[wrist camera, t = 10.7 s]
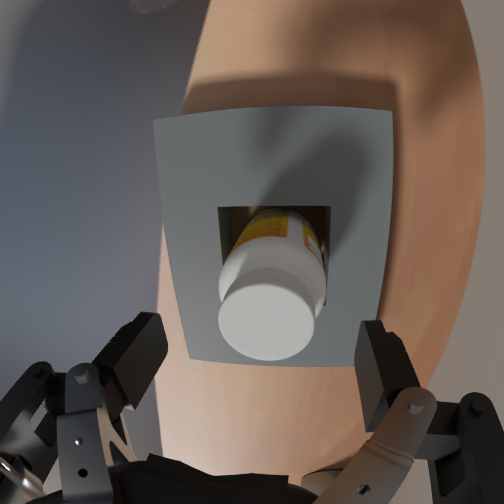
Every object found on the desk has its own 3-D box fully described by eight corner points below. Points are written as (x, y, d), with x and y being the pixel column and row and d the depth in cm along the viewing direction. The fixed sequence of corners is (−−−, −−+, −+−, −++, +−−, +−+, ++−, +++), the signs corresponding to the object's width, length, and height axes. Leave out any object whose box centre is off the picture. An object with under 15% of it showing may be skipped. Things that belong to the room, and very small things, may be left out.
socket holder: (358, 341, 22) (364, 365, 19) (200, 337, 24) (190, 358, 21) (377, 115, 15) (392, 111, 13) (172, 122, 18) (153, 120, 15)
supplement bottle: (231, 259, 21) (186, 343, 12) (259, 193, 19) (226, 241, 10) (296, 288, 21) (293, 386, 12) (330, 227, 19) (358, 301, 10)
